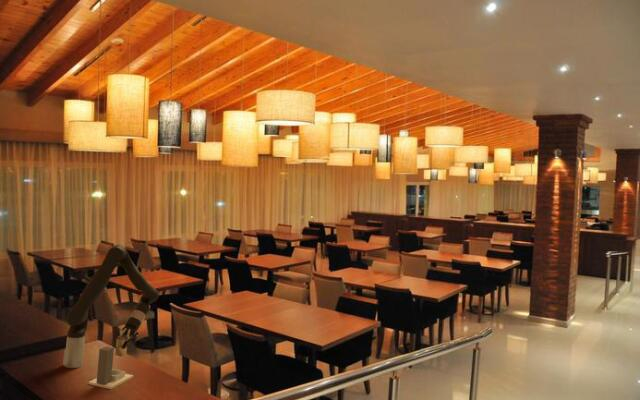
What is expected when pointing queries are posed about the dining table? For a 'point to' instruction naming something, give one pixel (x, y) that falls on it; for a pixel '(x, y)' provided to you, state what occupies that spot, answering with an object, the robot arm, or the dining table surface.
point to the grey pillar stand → (108, 371)
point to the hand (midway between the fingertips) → (119, 347)
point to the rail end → (119, 343)
